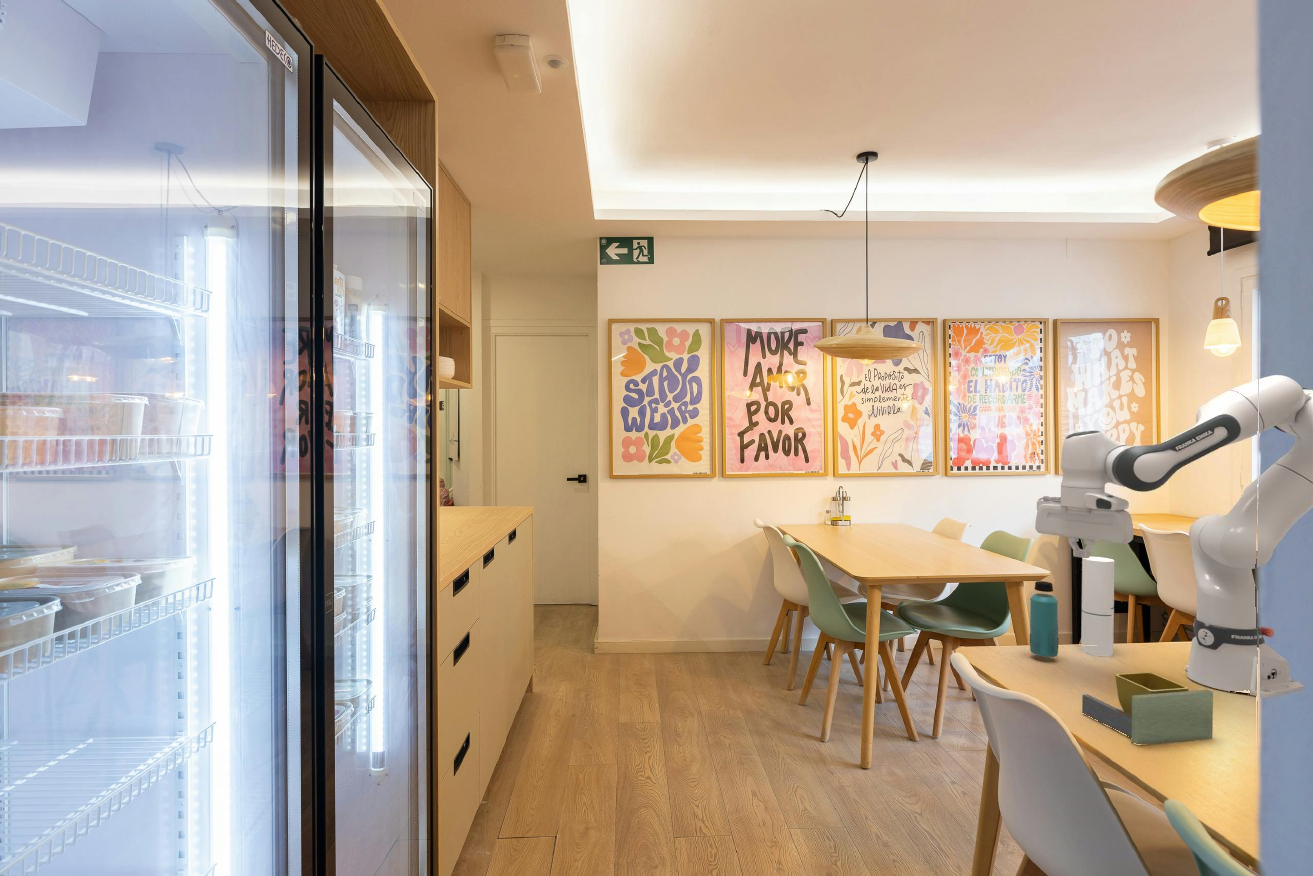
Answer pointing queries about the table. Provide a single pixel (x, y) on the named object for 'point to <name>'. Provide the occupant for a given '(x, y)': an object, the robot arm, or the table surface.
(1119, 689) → the flower pot
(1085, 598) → the cylindrical container
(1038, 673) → the table surface
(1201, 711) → the bracket
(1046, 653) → the beverage bottle
